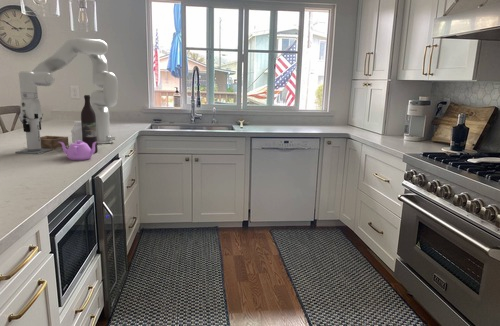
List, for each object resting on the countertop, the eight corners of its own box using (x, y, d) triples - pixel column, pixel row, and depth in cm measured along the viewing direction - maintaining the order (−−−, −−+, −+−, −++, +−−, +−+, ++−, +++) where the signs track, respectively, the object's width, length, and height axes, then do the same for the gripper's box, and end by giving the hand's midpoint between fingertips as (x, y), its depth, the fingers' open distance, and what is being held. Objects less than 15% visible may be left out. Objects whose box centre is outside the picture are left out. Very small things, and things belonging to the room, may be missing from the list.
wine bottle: (81, 153, 189) (77, 95, 182) (85, 151, 195) (81, 94, 189) (95, 153, 190) (92, 95, 183) (99, 151, 196) (96, 95, 190)
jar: (70, 149, 198) (68, 122, 195) (75, 146, 208) (73, 120, 204) (93, 149, 201) (91, 122, 197) (96, 146, 210) (95, 120, 207)
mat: (52, 150, 196) (52, 148, 195) (37, 154, 184) (37, 153, 184) (31, 148, 197) (31, 147, 196) (15, 152, 185) (15, 151, 185)
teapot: (98, 158, 180) (98, 140, 178) (70, 162, 169) (69, 143, 167) (87, 154, 187) (86, 137, 185) (59, 158, 177) (58, 140, 175)
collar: (68, 145, 211) (68, 136, 210) (54, 149, 198) (53, 140, 197) (47, 144, 212) (46, 135, 211) (32, 147, 199) (31, 138, 198)
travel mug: (25, 150, 190) (21, 111, 185) (39, 148, 194) (35, 111, 190) (28, 151, 185) (25, 112, 181) (43, 150, 190) (39, 112, 186)
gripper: (24, 97, 175) (27, 133, 179) (47, 96, 192) (50, 129, 196) (9, 96, 176) (13, 132, 180) (34, 95, 193) (37, 128, 197)
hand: (32, 130), depth 188 cm, fingers open, 7 cm apart
